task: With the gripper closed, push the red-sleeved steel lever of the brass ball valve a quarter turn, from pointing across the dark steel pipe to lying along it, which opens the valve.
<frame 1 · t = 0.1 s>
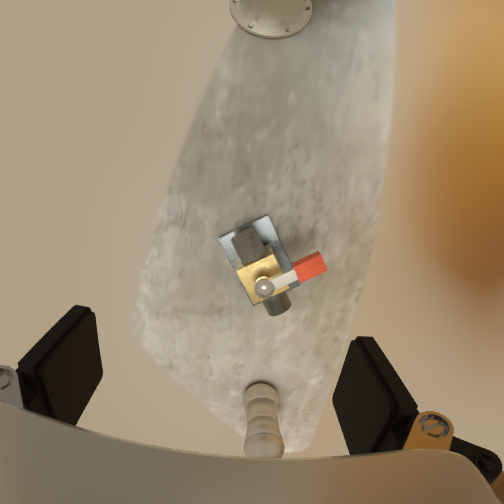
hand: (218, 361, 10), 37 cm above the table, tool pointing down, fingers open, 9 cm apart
lever: (289, 276, 38), point 11 cm above the table, hinge at 90.0°
valve: (260, 260, 48), on the table
plastic bottle: (260, 390, 56), on the table
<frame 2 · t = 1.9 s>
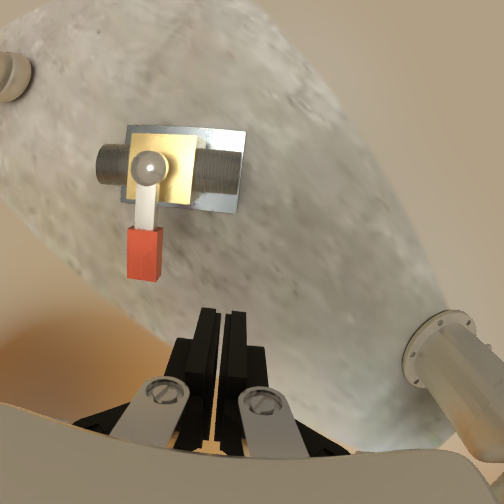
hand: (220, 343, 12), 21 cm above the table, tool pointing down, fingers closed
lever: (146, 215, 21), point 11 cm above the table, hinge at 90.0°
valve: (181, 166, 30), on the table
plastic bottle: (20, 80, 27), on the table
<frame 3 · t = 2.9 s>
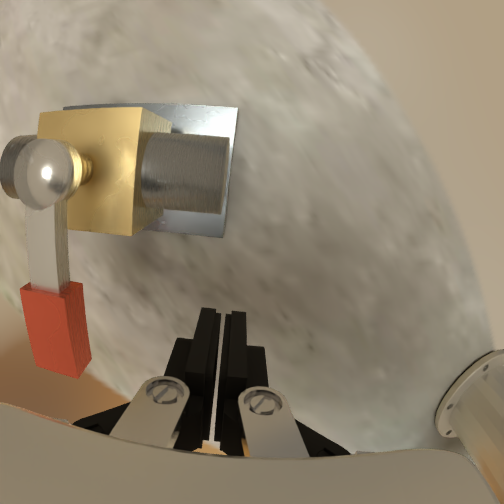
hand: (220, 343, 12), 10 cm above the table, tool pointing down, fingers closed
lever: (48, 263, 10), point 11 cm above the table, hinge at 90.0°
valve: (140, 165, 19), on the table
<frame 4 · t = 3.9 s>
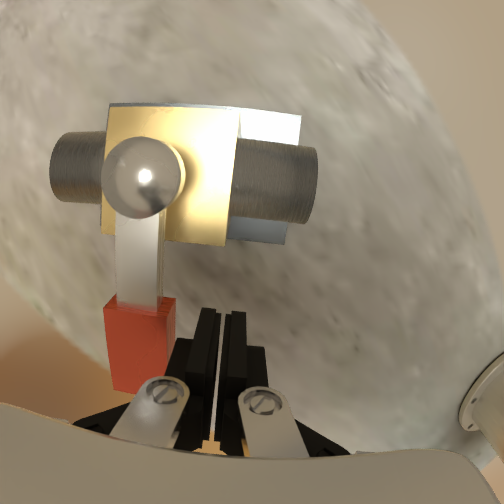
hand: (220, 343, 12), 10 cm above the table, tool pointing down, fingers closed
lever: (140, 278, 10), point 11 cm above the table, hinge at 90.0°, touching gripper
valve: (196, 169, 19), on the table
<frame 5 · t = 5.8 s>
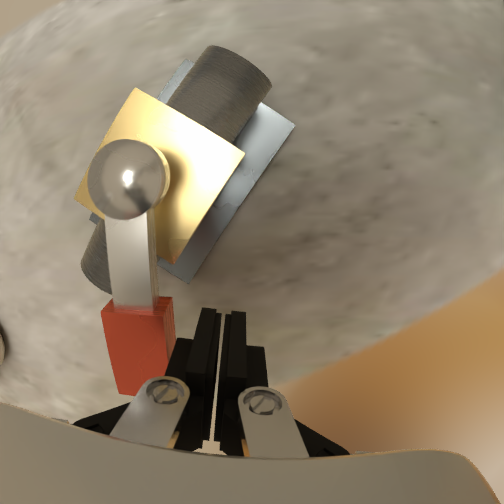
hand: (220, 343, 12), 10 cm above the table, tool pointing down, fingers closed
lever: (134, 279, 10), point 11 cm above the table, hinge at 32.1°, touching gripper
valve: (187, 170, 19), on the table
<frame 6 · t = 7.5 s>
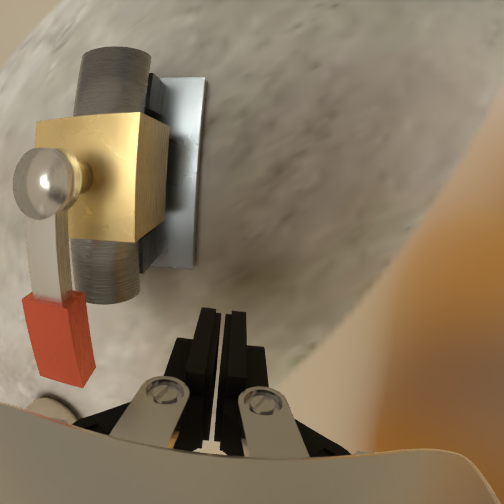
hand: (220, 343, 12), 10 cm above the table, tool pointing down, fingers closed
lever: (50, 273, 10), point 11 cm above the table, hinge at -1.3°
valve: (139, 170, 19), on the table
plastic bottle: (61, 411, 25), on the table
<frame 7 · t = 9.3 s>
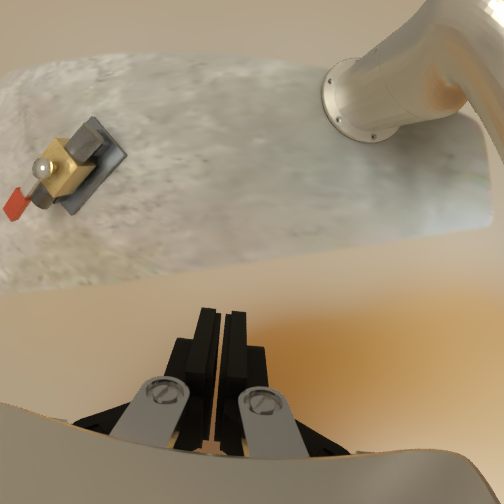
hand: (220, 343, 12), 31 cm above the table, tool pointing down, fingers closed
lever: (27, 188, 29), point 11 cm above the table, hinge at -1.3°
valve: (83, 166, 39), on the table
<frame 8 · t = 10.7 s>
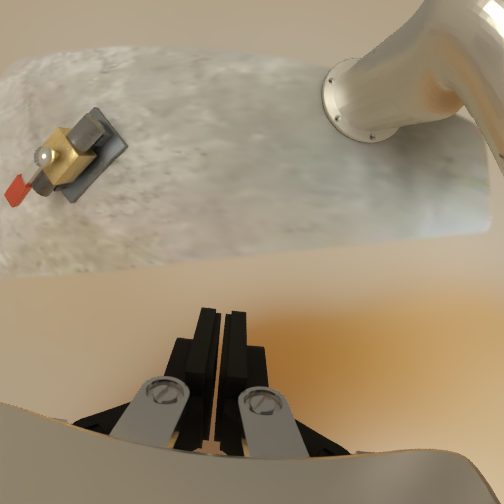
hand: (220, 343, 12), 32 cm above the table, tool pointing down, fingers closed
lever: (29, 175, 30), point 11 cm above the table, hinge at -1.3°
valve: (84, 155, 39), on the table
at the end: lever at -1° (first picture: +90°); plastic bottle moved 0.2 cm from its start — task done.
